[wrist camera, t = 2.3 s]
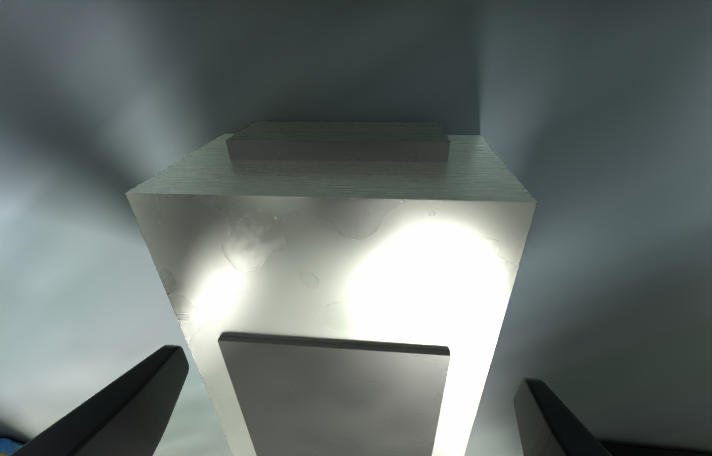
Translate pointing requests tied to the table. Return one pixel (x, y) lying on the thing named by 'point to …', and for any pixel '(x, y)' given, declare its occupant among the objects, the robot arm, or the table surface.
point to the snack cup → (8, 446)
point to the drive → (339, 281)
